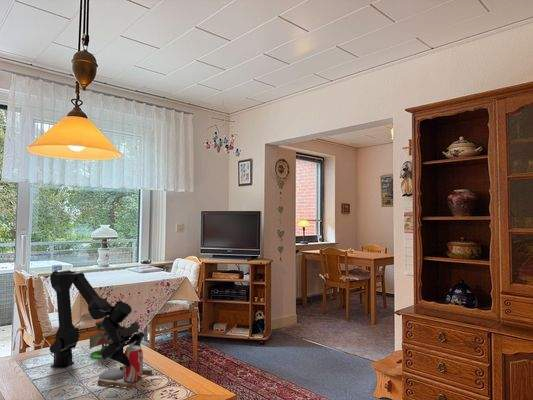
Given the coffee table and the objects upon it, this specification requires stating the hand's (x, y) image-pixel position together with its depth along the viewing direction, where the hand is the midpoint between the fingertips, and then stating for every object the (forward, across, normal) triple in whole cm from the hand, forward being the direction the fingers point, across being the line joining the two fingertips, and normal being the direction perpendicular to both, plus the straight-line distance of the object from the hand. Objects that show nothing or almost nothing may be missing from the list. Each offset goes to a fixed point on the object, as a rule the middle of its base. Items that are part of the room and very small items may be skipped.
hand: (136, 362), depth 145 cm
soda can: (+4, 0, +6) cm, 7 cm away
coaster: (-3, 0, +12) cm, 13 cm away
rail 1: (+2, -7, +7) cm, 10 cm away
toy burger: (-17, +17, +27) cm, 36 cm away
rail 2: (+1, +6, +8) cm, 10 cm away
